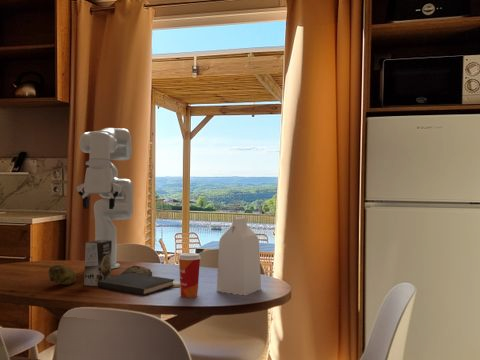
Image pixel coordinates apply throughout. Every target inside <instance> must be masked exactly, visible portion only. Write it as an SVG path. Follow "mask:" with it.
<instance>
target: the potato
mask: <svg viewBox="0 0 480 360" xmlns="http://www.w3.org/2000/svg"><path fill="white" fill-rule="evenodd" d="M47 271H48V277H49V281H50V282H54V283H57V284H61V285H64V286H66V285H71V284H73V283H74V282H75V280H76V279H77V276H76V272H75V271H74V270H72V269H70V268H68V267H67V266H66V265H63V264H55V265H52V266H51V267H50V268H48V270H47Z"/></svg>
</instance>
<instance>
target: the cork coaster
mask: <svg viewBox="0 0 480 360" xmlns="http://www.w3.org/2000/svg"><path fill="white" fill-rule="evenodd" d="M173 285H174V286H171V287H170V288H175V289H176V288H180V281H173Z"/></svg>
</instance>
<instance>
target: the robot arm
mask: <svg viewBox="0 0 480 360" xmlns="http://www.w3.org/2000/svg"><path fill="white" fill-rule="evenodd" d="M78 145H79V149H80V150H81V151H82V152H83V153H84V154H85V153H87V154H89V158H88V161H85V165H86V166H88V167H87V168H86V170H85V175H84V182H83V183H81V184H79V185H77V186H76V191H77V193H78V195H80V196H81V198H82V207H83V209H85V210H87V209H89V207H90V205H89V203H90V199H89V196H90V195H91V194H98V195H99V197H101V199H98V200H96V201H95V202H94V204H93V213H94V223H95V225H94V226H95V227H94V228H95V229H94V231H95V236H94V239H95V240H94V241H97V240H111V241H112V249H111V270H112V269H117V268H120V263H118V262H117V243H118V242H117V240H118V238H117V237H118V233H117V231H118V229H117V227H116V225H115V224H114V222H112V221H113V220H129V219H131V218H132V216H133V213H134V185H133V181H132V180H130V179H129V178H119V171H118V168H117V167H116V166H115V164H113V163H112V161H128V160H130V159H131V158H132V154H133V153H132V152H133V149H132V136H131V133H130V131H129V130H128V129H127V128H119V127H117V128H115V127H105V128H102V129H100V130H95V131H87V132H84V133H82V134H81V136H80V138H79V143H78ZM83 191H84V192H83Z"/></svg>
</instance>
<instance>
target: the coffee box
mask: <svg viewBox="0 0 480 360" xmlns="http://www.w3.org/2000/svg"><path fill="white" fill-rule="evenodd" d="M84 247H85V249H84V254H85V255H84V281H83V285H84V286H93V287H98V285H97V283H98V281H100V280H104V279H108V278H112V269H111V249H112V241H111V240H97V241H95V240H92V241H86V242H85V246H84Z"/></svg>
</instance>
